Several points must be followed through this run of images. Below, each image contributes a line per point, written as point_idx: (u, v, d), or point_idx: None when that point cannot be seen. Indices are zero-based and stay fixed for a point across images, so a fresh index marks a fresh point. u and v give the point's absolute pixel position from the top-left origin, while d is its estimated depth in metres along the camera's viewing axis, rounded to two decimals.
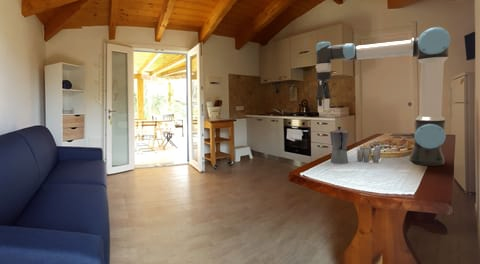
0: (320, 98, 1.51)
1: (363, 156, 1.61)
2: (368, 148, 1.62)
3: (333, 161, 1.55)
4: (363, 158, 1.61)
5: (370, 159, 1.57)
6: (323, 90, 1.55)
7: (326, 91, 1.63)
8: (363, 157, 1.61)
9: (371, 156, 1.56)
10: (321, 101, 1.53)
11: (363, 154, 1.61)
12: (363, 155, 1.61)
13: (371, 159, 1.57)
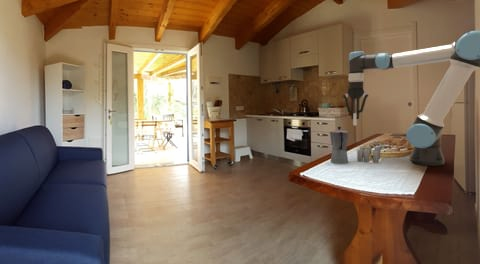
0: (348, 111, 1.60)
1: (363, 156, 1.61)
2: (368, 148, 1.62)
3: (333, 161, 1.55)
4: (363, 158, 1.61)
5: (370, 159, 1.57)
6: (351, 103, 1.59)
7: None
8: (363, 157, 1.61)
9: (371, 156, 1.56)
10: (352, 114, 1.60)
11: (363, 154, 1.61)
12: (363, 155, 1.61)
13: (371, 159, 1.57)
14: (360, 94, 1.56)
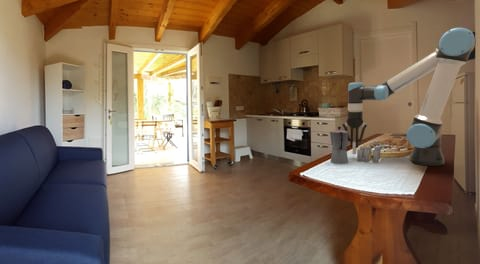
0: None
1: (363, 156, 1.61)
2: (368, 148, 1.62)
3: (333, 161, 1.55)
4: (363, 158, 1.61)
5: (370, 159, 1.57)
6: None
7: None
8: (363, 157, 1.61)
9: (371, 156, 1.56)
10: (351, 143, 1.62)
11: (363, 154, 1.61)
12: (363, 155, 1.61)
13: (371, 159, 1.57)
14: (359, 124, 1.58)
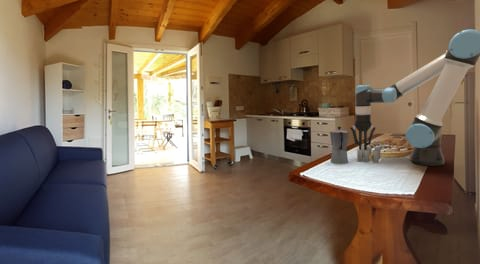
0: (356, 143, 1.60)
1: None
2: (368, 148, 1.62)
3: (333, 161, 1.55)
4: None
5: (371, 159, 1.56)
6: (359, 135, 1.59)
7: (364, 135, 1.58)
8: None
9: (372, 156, 1.56)
10: (360, 147, 1.60)
11: None
12: None
13: (372, 159, 1.56)
14: (367, 127, 1.56)
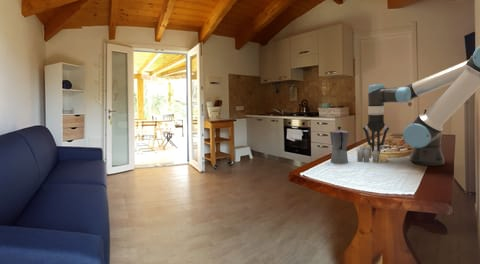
0: (368, 144, 1.57)
1: None
2: (368, 148, 1.62)
3: (333, 161, 1.55)
4: None
5: (382, 160, 1.53)
6: None
7: (377, 135, 1.55)
8: None
9: (384, 158, 1.53)
10: (373, 147, 1.56)
11: None
12: None
13: (384, 161, 1.53)
14: (381, 127, 1.53)
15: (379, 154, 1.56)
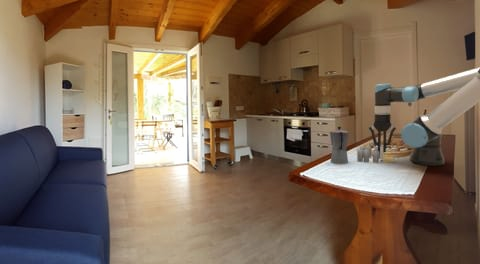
0: None
1: None
2: (368, 148, 1.62)
3: (333, 161, 1.55)
4: None
5: None
6: (378, 135, 1.54)
7: None
8: None
9: (390, 160, 1.51)
10: (379, 147, 1.55)
11: None
12: (383, 158, 1.57)
13: None
14: (387, 127, 1.51)
15: (384, 157, 1.55)
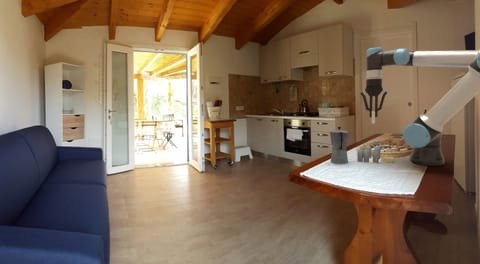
0: (366, 109, 1.56)
1: None
2: (368, 148, 1.62)
3: (333, 161, 1.55)
4: None
5: None
6: None
7: (375, 100, 1.54)
8: None
9: (390, 160, 1.51)
10: (370, 112, 1.55)
11: None
12: None
13: None
14: (379, 91, 1.52)
15: (384, 157, 1.55)
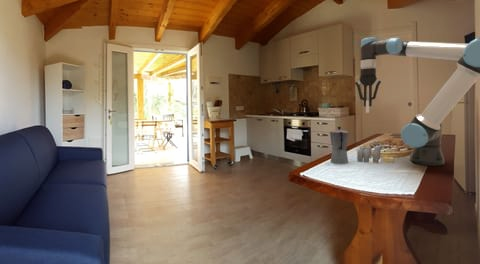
0: None
1: None
2: (368, 148, 1.62)
3: (333, 161, 1.55)
4: None
5: None
6: None
7: (369, 89, 1.56)
8: None
9: (390, 160, 1.51)
10: (364, 102, 1.58)
11: None
12: None
13: None
14: (373, 81, 1.54)
15: (384, 157, 1.55)
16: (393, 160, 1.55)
